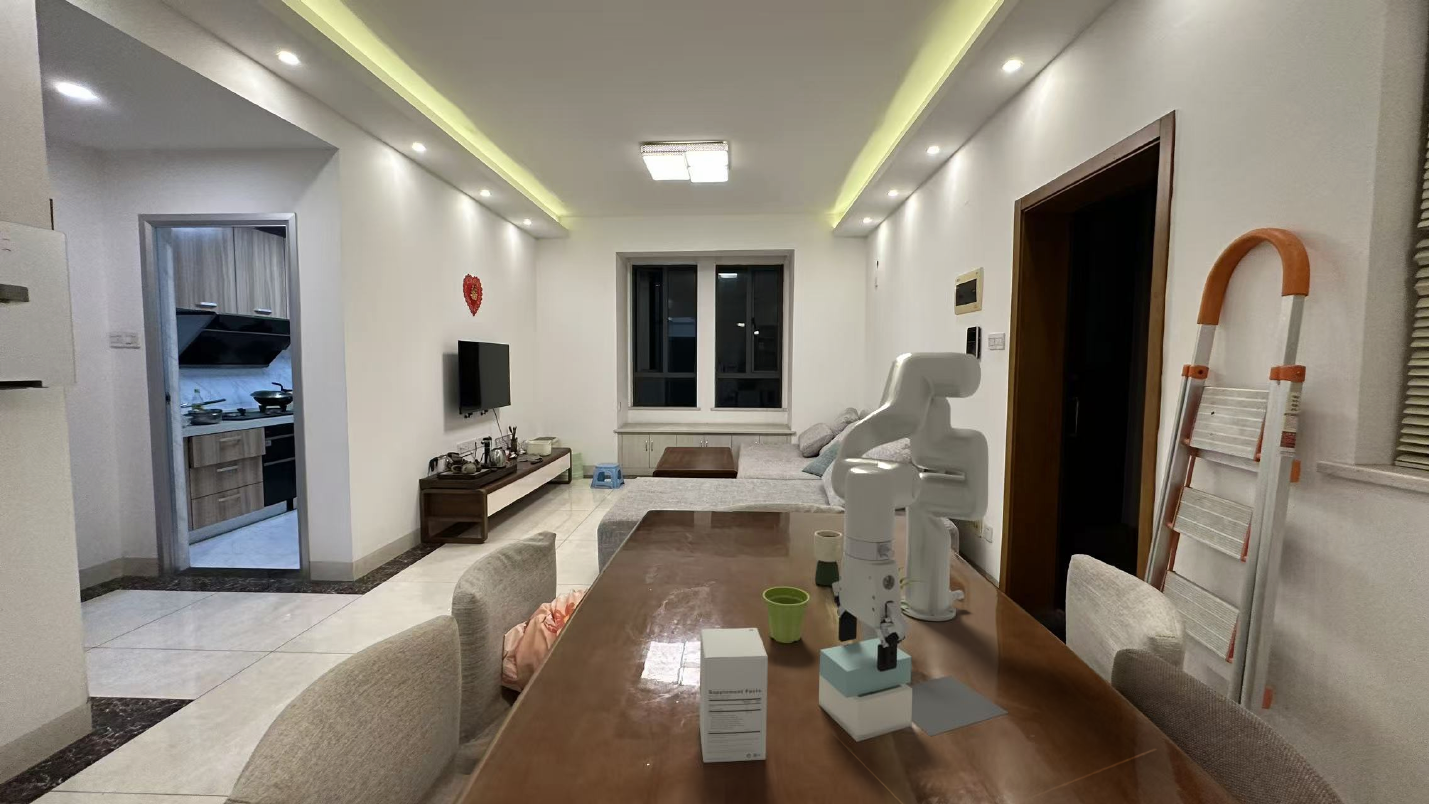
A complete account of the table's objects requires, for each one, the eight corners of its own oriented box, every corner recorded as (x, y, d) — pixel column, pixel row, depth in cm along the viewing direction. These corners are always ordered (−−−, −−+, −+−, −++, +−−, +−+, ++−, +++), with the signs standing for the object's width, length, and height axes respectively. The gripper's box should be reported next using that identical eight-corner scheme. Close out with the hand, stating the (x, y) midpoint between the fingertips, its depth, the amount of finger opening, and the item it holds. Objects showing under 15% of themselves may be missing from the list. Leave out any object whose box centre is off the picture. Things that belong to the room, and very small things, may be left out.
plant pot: (807, 650, 110) (808, 606, 109) (759, 645, 112) (760, 601, 111) (809, 629, 119) (810, 588, 119) (764, 624, 121) (765, 584, 120)
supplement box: (698, 723, 86) (699, 627, 86) (756, 721, 87) (758, 626, 86) (701, 764, 77) (703, 657, 76) (766, 761, 78) (769, 655, 77)
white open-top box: (869, 692, 95) (870, 658, 95) (911, 727, 86) (912, 688, 86) (818, 705, 91) (819, 669, 91) (856, 742, 82) (858, 702, 82)
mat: (950, 676, 101) (950, 675, 101) (1008, 713, 90) (1008, 712, 90) (877, 694, 95) (877, 693, 95) (930, 737, 84) (930, 736, 84)
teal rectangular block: (880, 660, 94) (881, 637, 94) (910, 682, 88) (911, 656, 88) (819, 674, 89) (820, 649, 89) (846, 698, 83) (847, 671, 83)
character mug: (851, 590, 141) (852, 538, 141) (826, 593, 139) (827, 541, 138) (827, 575, 152) (829, 527, 151) (804, 578, 149) (805, 529, 149)
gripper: (928, 561, 81) (924, 677, 82) (854, 529, 97) (852, 626, 98) (886, 568, 78) (883, 688, 79) (817, 534, 94) (815, 634, 95)
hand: (866, 653), depth 89 cm, fingers open, 9 cm apart
